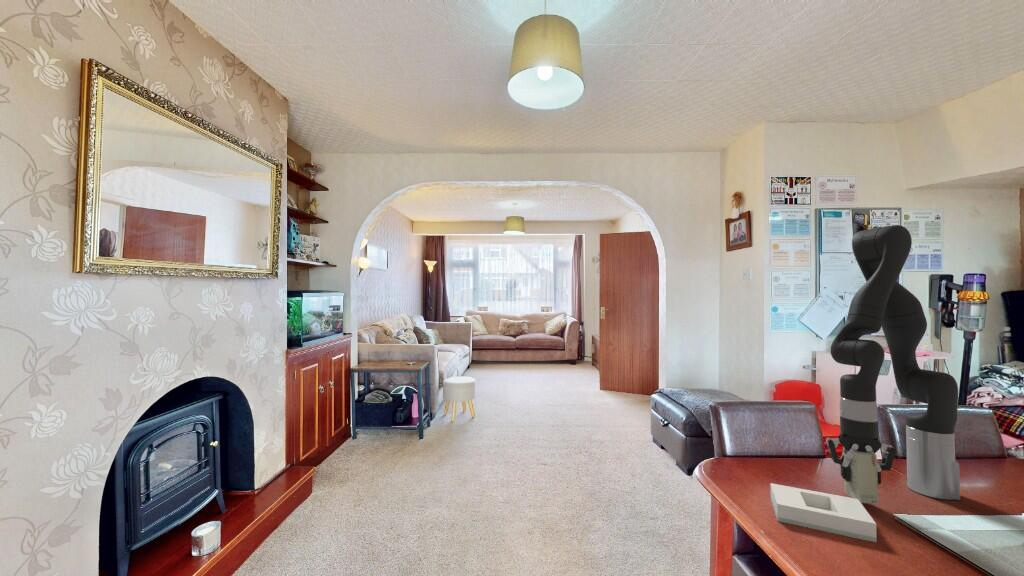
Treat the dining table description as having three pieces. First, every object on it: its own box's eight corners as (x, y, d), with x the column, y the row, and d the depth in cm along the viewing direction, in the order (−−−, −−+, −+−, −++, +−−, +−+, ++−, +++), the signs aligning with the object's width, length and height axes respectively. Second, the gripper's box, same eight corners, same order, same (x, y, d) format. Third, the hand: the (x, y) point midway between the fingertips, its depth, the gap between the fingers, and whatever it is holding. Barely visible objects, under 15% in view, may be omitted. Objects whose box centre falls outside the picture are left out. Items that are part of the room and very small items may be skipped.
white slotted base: (858, 515, 96) (857, 499, 97) (876, 542, 86) (876, 523, 86) (770, 498, 105) (770, 483, 105) (777, 521, 94) (777, 503, 94)
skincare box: (879, 505, 98) (878, 455, 99) (859, 503, 99) (858, 454, 99) (862, 492, 105) (861, 445, 105) (843, 491, 105) (842, 444, 106)
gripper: (889, 415, 103) (891, 482, 102) (820, 409, 109) (822, 471, 108) (901, 424, 96) (904, 495, 95) (827, 416, 102) (829, 483, 102)
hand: (860, 482), depth 102 cm, fingers closed on skincare box, 5 cm apart
